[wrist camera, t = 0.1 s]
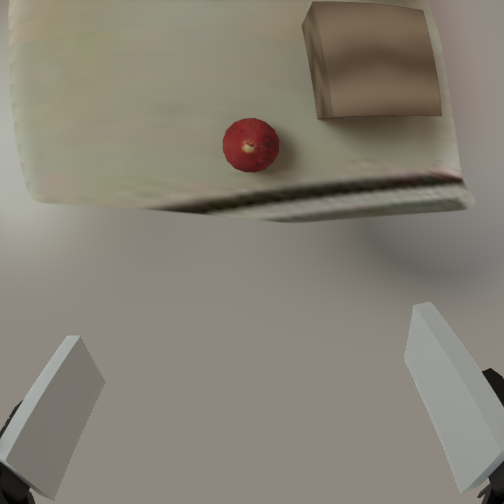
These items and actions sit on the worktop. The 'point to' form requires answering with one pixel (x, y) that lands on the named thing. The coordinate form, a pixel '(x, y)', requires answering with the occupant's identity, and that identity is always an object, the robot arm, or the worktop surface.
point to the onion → (250, 145)
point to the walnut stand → (370, 60)
